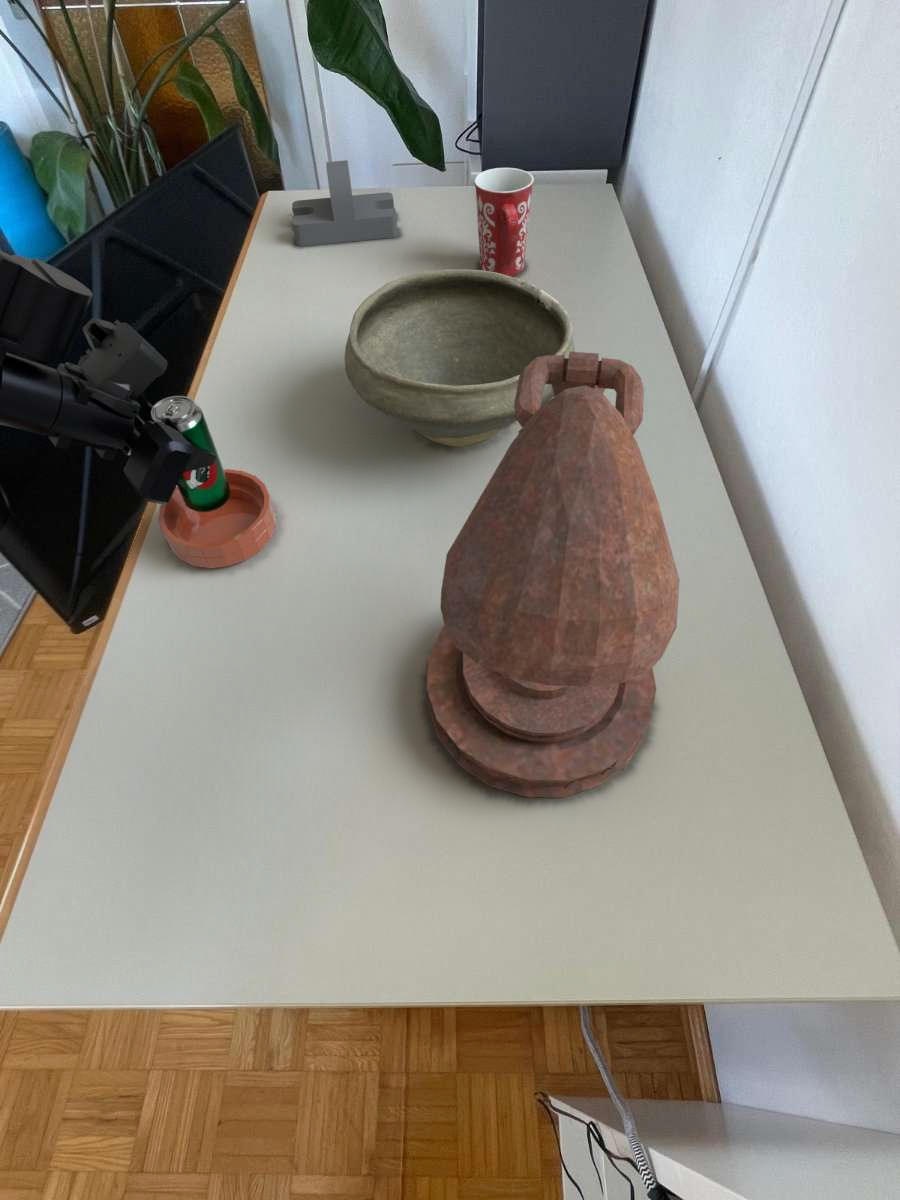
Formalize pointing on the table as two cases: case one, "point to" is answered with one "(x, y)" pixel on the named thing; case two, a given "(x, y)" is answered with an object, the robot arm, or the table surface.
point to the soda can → (208, 483)
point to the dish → (221, 524)
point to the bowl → (452, 350)
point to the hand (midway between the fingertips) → (202, 447)
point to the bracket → (343, 213)
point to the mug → (503, 218)
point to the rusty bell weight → (557, 592)
